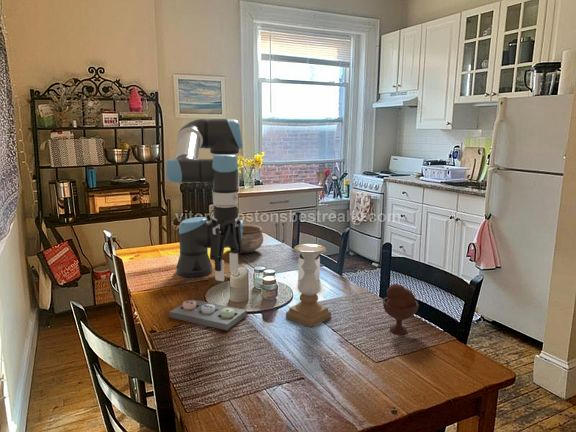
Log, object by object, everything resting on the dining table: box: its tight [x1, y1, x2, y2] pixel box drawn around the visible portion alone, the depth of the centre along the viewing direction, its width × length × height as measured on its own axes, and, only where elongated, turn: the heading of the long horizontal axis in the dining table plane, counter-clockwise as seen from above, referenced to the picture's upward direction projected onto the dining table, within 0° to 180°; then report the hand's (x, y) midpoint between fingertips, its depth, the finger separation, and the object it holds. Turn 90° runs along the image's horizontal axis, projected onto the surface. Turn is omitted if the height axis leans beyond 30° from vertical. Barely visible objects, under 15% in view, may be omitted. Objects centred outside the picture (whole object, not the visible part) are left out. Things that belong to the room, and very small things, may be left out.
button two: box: [182, 299, 196, 311], centre depth 150 cm, size 4×4×3 cm
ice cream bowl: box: [382, 283, 420, 336], centre depth 137 cm, size 11×11×15 cm
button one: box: [221, 308, 235, 319], centre depth 144 cm, size 4×4×3 cm
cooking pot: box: [238, 224, 264, 255], centre depth 222 cm, size 25×19×12 cm
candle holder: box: [285, 243, 332, 328], centre depth 145 cm, size 11×11×24 cm
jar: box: [297, 253, 321, 281], centre depth 184 cm, size 9×8×12 cm
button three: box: [201, 303, 215, 315], centre depth 147 cm, size 4×4×3 cm
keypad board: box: [169, 298, 247, 331], centre depth 147 cm, size 22×12×2 cm, turn 65°
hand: (227, 276), depth 141 cm, fingers open, 8 cm apart
